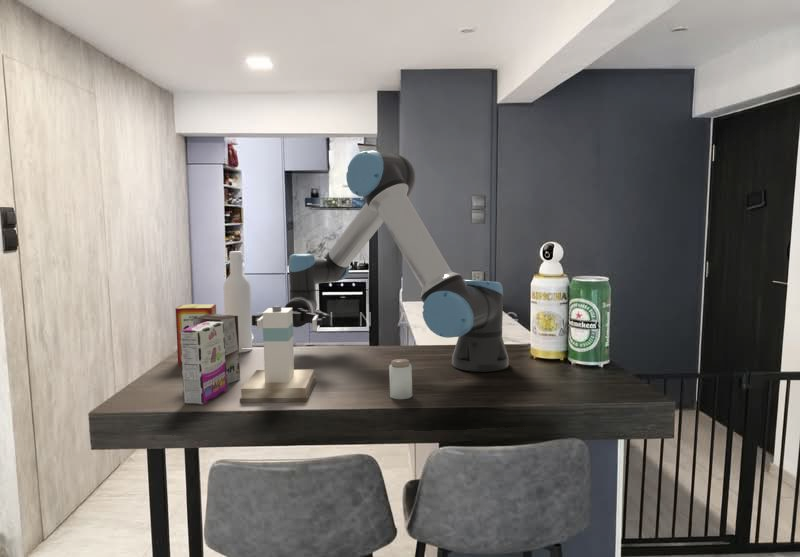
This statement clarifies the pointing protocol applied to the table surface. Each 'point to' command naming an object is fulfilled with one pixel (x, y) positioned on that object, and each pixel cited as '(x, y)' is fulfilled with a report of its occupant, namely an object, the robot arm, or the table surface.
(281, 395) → the podium
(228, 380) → the coffee box
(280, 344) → the carton
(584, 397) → the table surface
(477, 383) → the table surface
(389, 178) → the robot arm
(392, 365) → the ceramic jar
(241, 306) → the bottle
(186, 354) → the candy bar box
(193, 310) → the baking soda box
